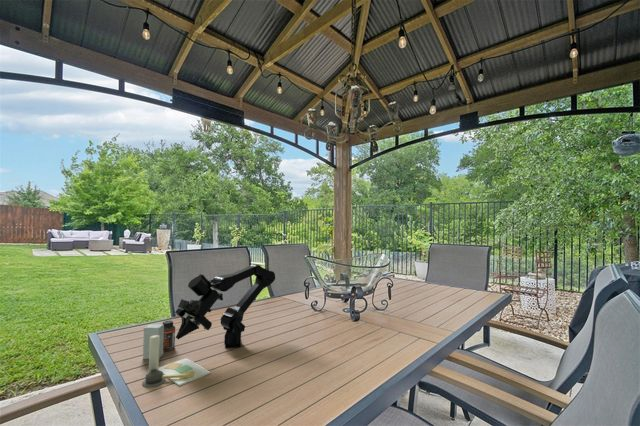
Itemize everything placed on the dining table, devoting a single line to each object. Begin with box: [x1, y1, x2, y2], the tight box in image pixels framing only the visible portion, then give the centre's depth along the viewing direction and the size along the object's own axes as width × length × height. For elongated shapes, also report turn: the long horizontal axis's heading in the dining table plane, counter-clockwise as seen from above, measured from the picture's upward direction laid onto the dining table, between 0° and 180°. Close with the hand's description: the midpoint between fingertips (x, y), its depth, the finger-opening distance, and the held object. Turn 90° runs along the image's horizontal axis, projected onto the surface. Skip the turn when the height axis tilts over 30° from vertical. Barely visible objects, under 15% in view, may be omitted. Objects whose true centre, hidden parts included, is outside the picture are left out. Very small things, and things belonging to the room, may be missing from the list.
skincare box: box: [142, 323, 164, 360], centre depth 117 cm, size 6×4×12 cm
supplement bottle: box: [162, 319, 176, 352], centre depth 125 cm, size 6×6×11 cm
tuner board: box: [141, 357, 211, 388], centre depth 103 cm, size 18×17×1 cm
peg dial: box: [144, 335, 190, 384], centre depth 101 cm, size 11×15×12 cm
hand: (177, 338), depth 111 cm, fingers closed
